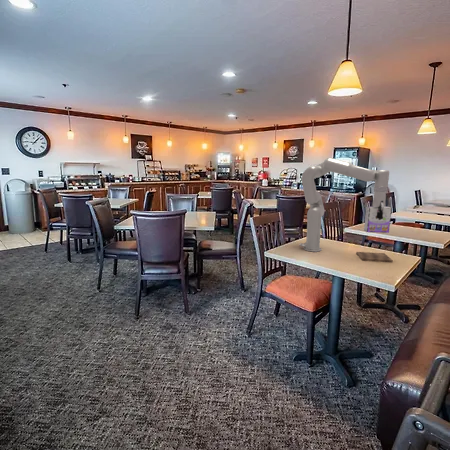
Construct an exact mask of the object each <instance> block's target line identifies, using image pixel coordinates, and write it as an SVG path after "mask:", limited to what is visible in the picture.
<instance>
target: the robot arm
mask: <svg viewBox="0 0 450 450" xmlns="http://www.w3.org/2000/svg"><path fill="white" fill-rule="evenodd" d="M331 172H332V173H335V174H338V175H341V176H346V177H349V178H353V179H357V180H359V181H364V182H366V183H367V182H368V183H369V182H374V187H373V192H374V194H373V199H372V204H371V205H372V207H376V208H377V207H378V212H377V218H378V219H382V216H383V209H384V207H386V201H387V200H386V197H387V195H386V194H387V193H388V189H389V188H388V186H389V179H390V171H389V170H387V169H378V170H375V169H370V168H369V169H368V168H364V167H362V166H358V165H355V164H353V163H351V162H346V161H343V160H339V159H336V158H334V157H333V158H332V157H328V158H326V159H325V160H324V161H323V162H321V163H318V164H317V165H311V166H308V167H307V168H306V169H305V170H304V171H303V173H302V175H301V185H302V189H303V196H304V198H305V199H304V200H305V202H306V203H307V204H308V205H309V207H310V208H309V209H308V210H307V214H306V221H307V223H306V240H305V242H304V243H301V242H300V243H299V247H303V250H305V251H306V252H317V253H318V252H321V251H322V247H320V245H321V244H320V243H321V231H322V230H321V228H322V217H323V216H324V214H325V206H324V203H323V202H324V201H323V197H322V194H321V193H320V191H317V187H316V182H315V179H317V178H318V179H319V178H321V177H322V176H325V175H327V174H329V173H331ZM379 209H380V210H379Z"/></svg>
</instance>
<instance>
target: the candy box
mask: <svg viewBox="0 0 450 450" xmlns="http://www.w3.org/2000/svg"><path fill="white" fill-rule="evenodd" d="M379 210H380V209H379ZM377 212H378V207H377V208H376V207H373V206H366V207H365V216H364V217H365V218H364V226H363V231H364V232H366V233H377V234H378V233H385V234H388V233H390V224H391V216H392V207H390V206H385V207H384V209H383V216H382V219H378V218H377Z"/></svg>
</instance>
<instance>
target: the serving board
mask: <svg viewBox="0 0 450 450" xmlns="http://www.w3.org/2000/svg"><path fill="white" fill-rule="evenodd" d="M355 254H356V255H357V256H358V258H359V259H360V260H361V261H362V262H363V261H364V262H378V263H381V262H382V263H393V259H392V258H391V257H390V256H388V255H387V254H386V253H385V252H370V251H369V252H368V251H356V253H355Z"/></svg>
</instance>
